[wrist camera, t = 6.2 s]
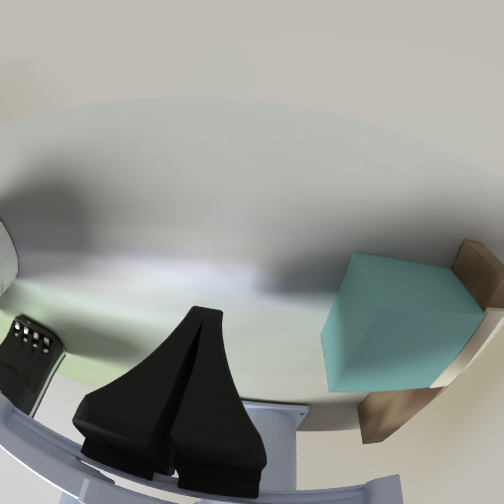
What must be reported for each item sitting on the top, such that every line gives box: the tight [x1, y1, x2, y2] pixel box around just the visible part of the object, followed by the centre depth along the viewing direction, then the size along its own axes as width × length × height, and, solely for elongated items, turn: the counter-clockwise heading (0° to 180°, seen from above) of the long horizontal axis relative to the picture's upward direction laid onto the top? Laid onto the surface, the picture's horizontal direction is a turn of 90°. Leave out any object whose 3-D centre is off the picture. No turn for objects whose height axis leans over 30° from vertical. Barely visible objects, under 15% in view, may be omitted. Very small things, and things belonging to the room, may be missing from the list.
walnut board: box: [357, 239, 504, 444], centre depth 15 cm, size 18×2×4 cm, turn 172°
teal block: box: [320, 252, 485, 392], centre depth 13 cm, size 6×7×4 cm
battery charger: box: [0, 316, 66, 418], centre depth 14 cm, size 7×4×11 cm, turn 77°
